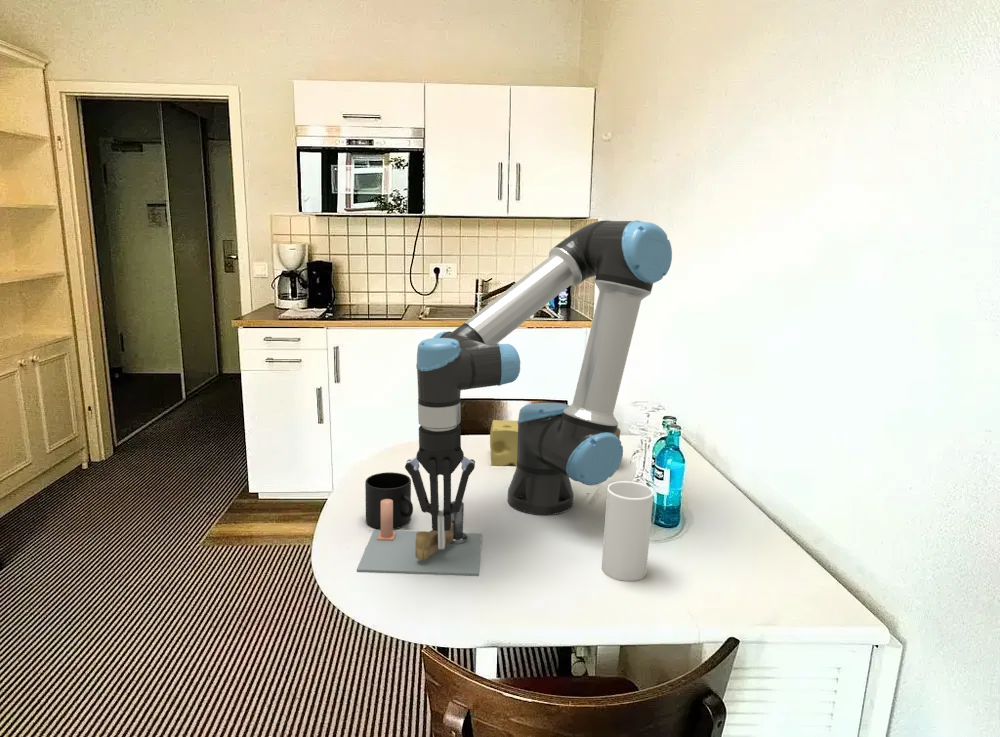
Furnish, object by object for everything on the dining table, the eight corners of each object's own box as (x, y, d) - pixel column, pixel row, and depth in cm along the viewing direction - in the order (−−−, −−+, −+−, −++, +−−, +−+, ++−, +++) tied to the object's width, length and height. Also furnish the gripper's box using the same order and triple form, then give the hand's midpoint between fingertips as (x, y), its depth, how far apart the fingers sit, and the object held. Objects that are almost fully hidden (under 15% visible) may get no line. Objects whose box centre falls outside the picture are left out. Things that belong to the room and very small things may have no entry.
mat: (481, 535, 136) (481, 533, 136) (478, 575, 120) (478, 573, 120) (373, 531, 136) (373, 529, 136) (356, 571, 120) (356, 569, 120)
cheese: (529, 467, 175) (531, 431, 173) (488, 466, 175) (489, 429, 173) (528, 454, 185) (529, 419, 183) (489, 452, 185) (490, 418, 183)
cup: (636, 586, 119) (644, 502, 115) (594, 572, 123) (600, 491, 119) (652, 567, 125) (659, 487, 122) (611, 554, 130) (617, 477, 126)
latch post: (396, 535, 134) (396, 498, 133) (393, 542, 131) (393, 505, 130) (380, 534, 134) (380, 497, 133) (377, 542, 131) (377, 504, 130)
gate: (444, 537, 131) (444, 515, 130) (454, 540, 130) (454, 518, 129) (413, 557, 123) (413, 535, 122) (423, 561, 122) (424, 538, 121)
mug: (395, 538, 133) (395, 496, 131) (356, 520, 140) (355, 480, 138) (428, 523, 140) (429, 483, 138) (389, 507, 148) (389, 468, 146)
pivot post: (467, 536, 135) (468, 499, 133) (466, 546, 131) (467, 508, 129) (445, 535, 135) (446, 498, 133) (443, 546, 131) (444, 508, 129)
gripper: (475, 418, 123) (476, 536, 128) (407, 418, 123) (410, 536, 128) (474, 431, 116) (475, 555, 121) (401, 431, 116) (405, 555, 121)
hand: (441, 545), depth 124 cm, fingers closed
